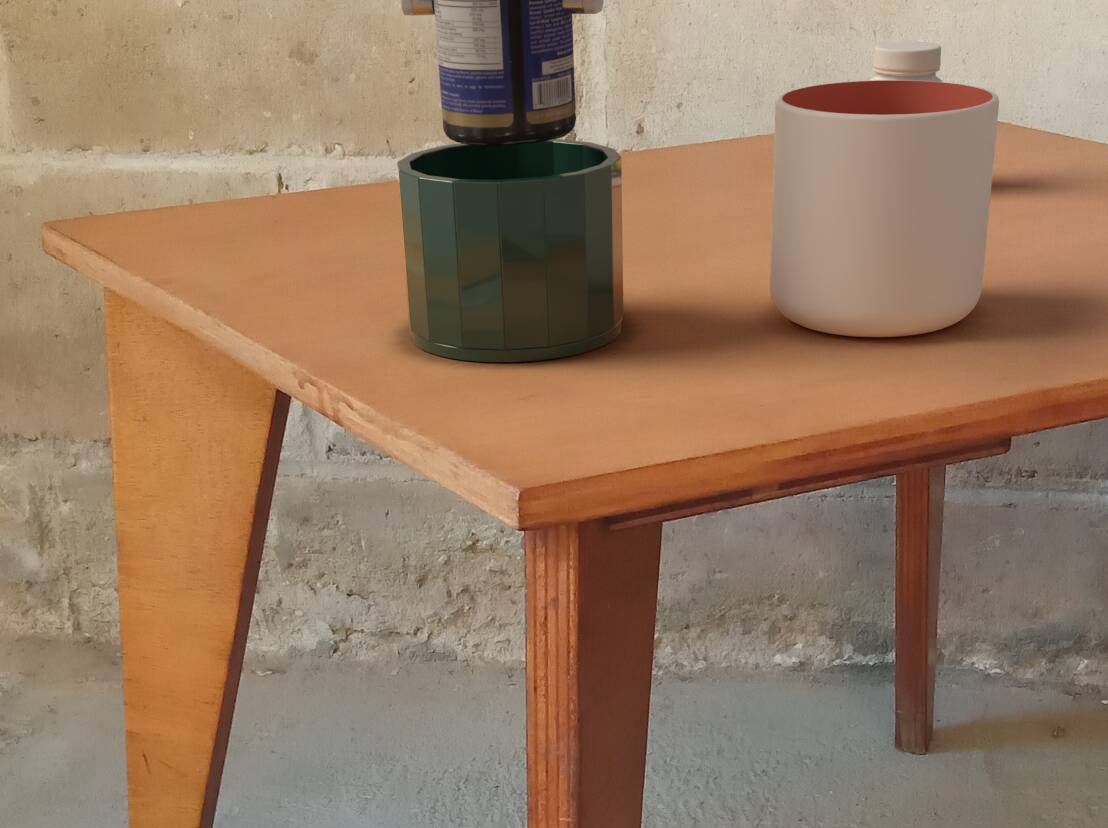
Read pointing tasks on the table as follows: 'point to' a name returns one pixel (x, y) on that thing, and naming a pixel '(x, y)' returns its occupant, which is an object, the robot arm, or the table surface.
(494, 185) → the green cup
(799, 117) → the cup
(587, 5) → the robot arm
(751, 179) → the table surface
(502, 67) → the pill bottle
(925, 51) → the supplement bottle
